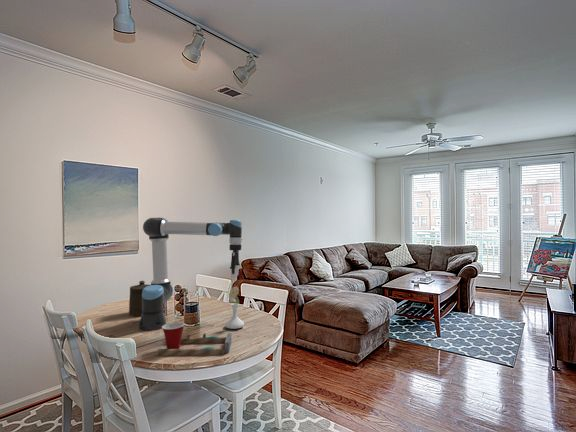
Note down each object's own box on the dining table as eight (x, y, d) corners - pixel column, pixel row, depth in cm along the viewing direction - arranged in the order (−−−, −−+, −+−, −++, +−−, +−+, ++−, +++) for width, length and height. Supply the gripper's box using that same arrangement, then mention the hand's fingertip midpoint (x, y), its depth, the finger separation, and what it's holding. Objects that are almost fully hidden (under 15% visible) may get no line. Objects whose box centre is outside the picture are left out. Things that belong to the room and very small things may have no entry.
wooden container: (156, 310, 228) (156, 278, 228) (148, 316, 213) (148, 283, 213) (134, 310, 228) (135, 278, 228) (125, 316, 213) (125, 282, 213)
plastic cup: (172, 343, 169) (173, 319, 169) (189, 346, 165) (189, 322, 165) (156, 350, 160) (156, 326, 160) (173, 354, 155) (173, 329, 155)
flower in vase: (223, 325, 198) (223, 284, 198) (241, 323, 202) (242, 282, 202) (227, 332, 186) (228, 288, 186) (247, 330, 190) (247, 287, 190)
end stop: (224, 352, 158) (224, 342, 158) (227, 342, 171) (227, 333, 171) (228, 352, 158) (229, 342, 158) (231, 342, 171) (231, 332, 171)
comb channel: (157, 355, 154) (157, 346, 154) (167, 342, 170) (167, 334, 170) (224, 354, 156) (224, 345, 156) (227, 341, 172) (227, 333, 172)
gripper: (238, 245, 197) (238, 281, 197) (243, 242, 222) (243, 273, 222) (226, 245, 197) (225, 280, 197) (232, 242, 222) (231, 273, 222)
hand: (234, 277), depth 209 cm, fingers open, 13 cm apart
